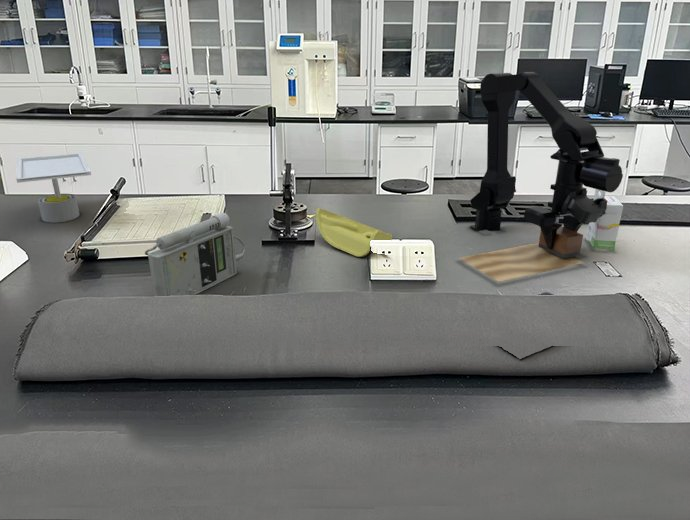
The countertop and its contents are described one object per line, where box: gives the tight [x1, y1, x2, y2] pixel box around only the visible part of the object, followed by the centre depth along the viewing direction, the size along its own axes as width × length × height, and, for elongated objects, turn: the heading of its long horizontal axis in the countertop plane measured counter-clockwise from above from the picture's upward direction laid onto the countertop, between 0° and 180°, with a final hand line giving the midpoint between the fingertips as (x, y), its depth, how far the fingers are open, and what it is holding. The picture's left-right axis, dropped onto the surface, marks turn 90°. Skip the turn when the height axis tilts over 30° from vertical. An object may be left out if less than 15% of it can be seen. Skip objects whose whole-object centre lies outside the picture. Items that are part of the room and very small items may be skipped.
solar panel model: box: [15, 152, 92, 224], centre depth 150 cm, size 28×17×15 cm, turn 29°
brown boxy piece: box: [538, 225, 584, 258], centre depth 123 cm, size 8×5×5 cm, turn 25°
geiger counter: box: [144, 212, 247, 297], centre depth 108 cm, size 14×6×25 cm
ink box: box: [585, 189, 624, 252], centre depth 128 cm, size 9×5×15 cm, turn 168°
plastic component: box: [315, 207, 394, 258], centre depth 132 cm, size 20×7×10 cm
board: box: [458, 242, 584, 283], centre depth 120 cm, size 14×24×1 cm, turn 114°
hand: (558, 247), depth 124 cm, fingers closed on brown boxy piece, 5 cm apart
